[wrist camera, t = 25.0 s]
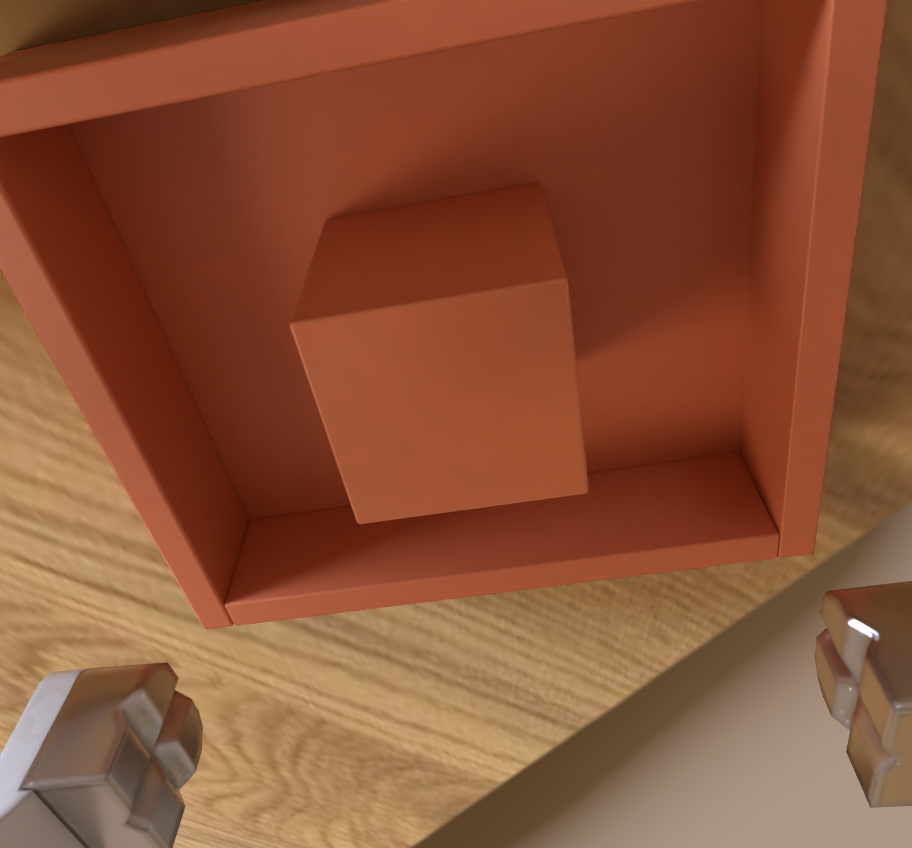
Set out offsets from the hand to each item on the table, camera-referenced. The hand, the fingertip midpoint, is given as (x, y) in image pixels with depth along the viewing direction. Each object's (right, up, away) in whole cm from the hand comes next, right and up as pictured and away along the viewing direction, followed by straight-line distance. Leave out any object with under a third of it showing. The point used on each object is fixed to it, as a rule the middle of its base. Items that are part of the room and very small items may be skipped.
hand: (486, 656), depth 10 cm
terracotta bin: (-1, +6, +8) cm, 10 cm away
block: (-1, +6, +7) cm, 9 cm away
